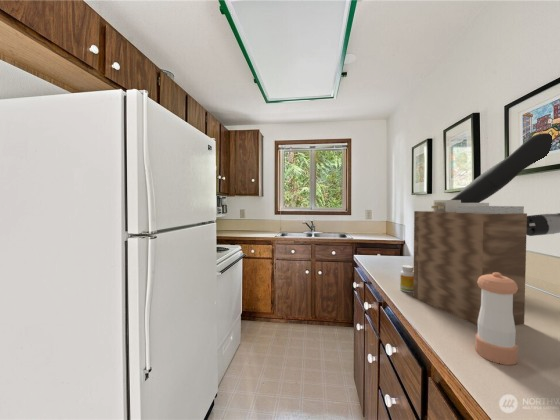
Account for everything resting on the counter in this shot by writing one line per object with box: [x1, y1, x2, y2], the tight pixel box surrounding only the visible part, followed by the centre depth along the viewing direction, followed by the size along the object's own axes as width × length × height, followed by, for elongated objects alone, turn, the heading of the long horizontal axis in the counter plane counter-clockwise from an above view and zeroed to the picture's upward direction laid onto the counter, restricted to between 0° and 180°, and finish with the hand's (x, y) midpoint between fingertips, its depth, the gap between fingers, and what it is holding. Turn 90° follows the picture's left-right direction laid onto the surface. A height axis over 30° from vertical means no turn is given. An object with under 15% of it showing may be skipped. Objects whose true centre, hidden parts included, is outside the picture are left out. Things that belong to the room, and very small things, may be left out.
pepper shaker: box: [474, 272, 518, 366], centre depth 57 cm, size 7×7×19 cm
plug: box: [431, 199, 490, 212], centre depth 87 cm, size 5×22×4 cm, turn 106°
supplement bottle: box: [399, 264, 414, 294], centre depth 99 cm, size 5×5×10 cm
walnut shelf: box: [412, 210, 528, 327], centre depth 82 cm, size 26×14×32 cm, turn 16°
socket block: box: [456, 205, 525, 214], centre depth 75 cm, size 11×12×2 cm
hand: (490, 229), depth 95 cm, fingers open, 8 cm apart
